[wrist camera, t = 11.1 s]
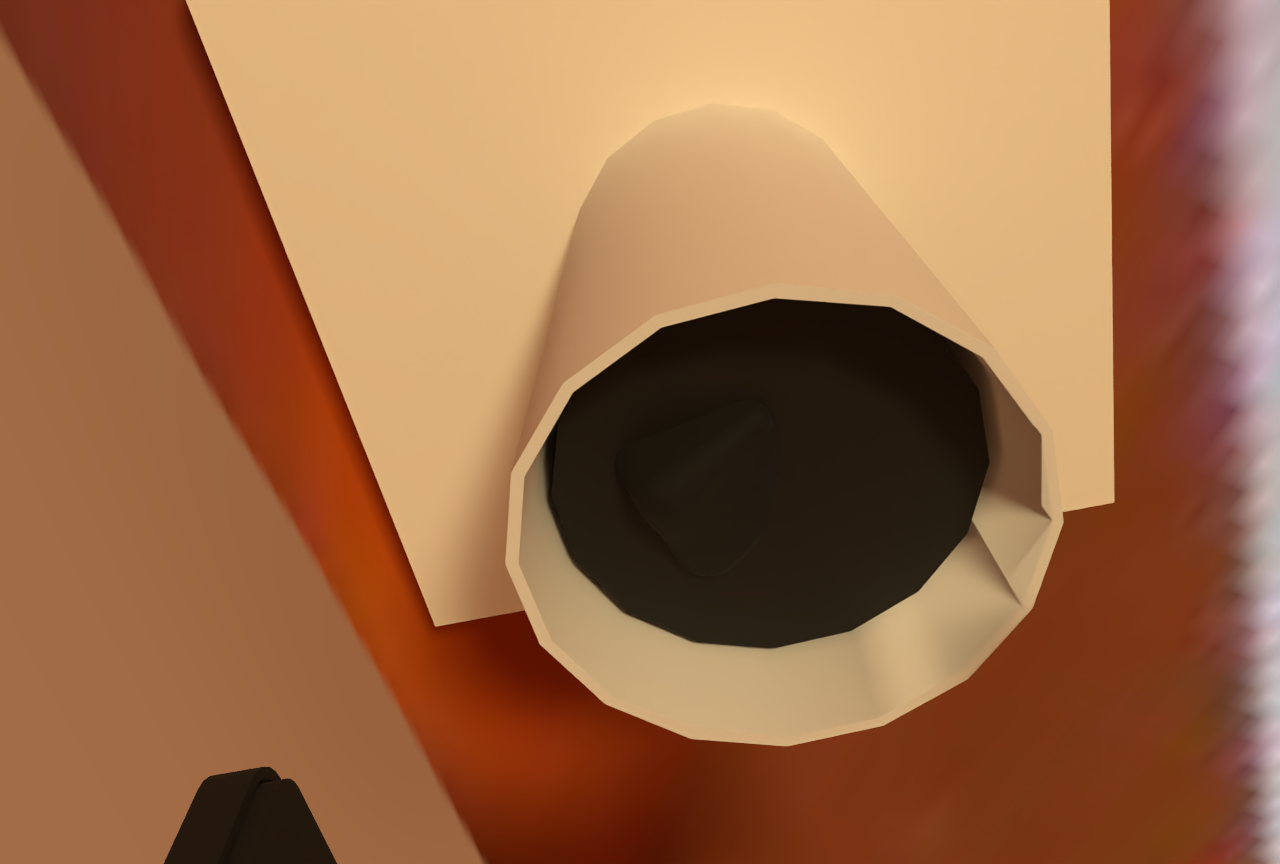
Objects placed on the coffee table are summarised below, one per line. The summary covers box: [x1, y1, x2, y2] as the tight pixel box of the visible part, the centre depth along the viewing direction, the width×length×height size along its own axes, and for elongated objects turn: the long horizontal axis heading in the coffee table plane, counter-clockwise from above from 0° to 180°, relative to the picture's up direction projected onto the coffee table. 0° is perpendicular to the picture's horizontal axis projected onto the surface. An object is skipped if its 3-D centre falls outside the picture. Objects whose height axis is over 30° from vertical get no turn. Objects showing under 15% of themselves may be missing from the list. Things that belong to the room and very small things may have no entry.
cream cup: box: [505, 104, 1063, 746], centre depth 18 cm, size 7×7×10 cm
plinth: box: [186, 0, 1114, 627], centre depth 23 cm, size 16×16×2 cm
